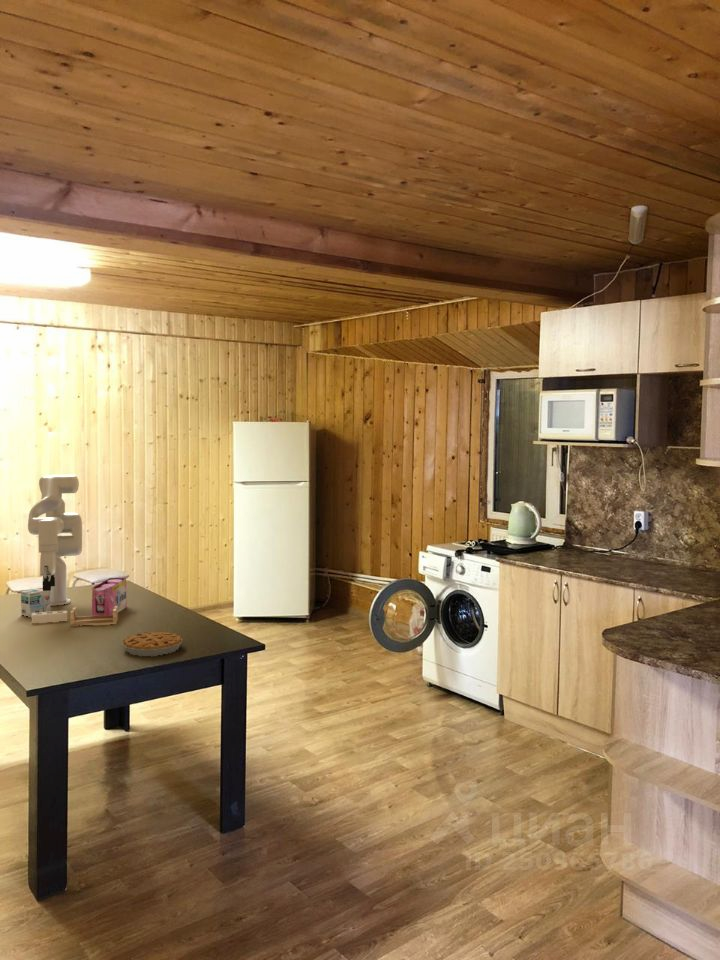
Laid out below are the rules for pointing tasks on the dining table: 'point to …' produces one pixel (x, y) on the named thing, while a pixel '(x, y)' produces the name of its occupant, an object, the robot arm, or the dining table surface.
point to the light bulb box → (35, 601)
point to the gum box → (109, 596)
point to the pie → (152, 643)
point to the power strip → (49, 616)
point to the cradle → (93, 618)
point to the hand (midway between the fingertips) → (48, 588)
